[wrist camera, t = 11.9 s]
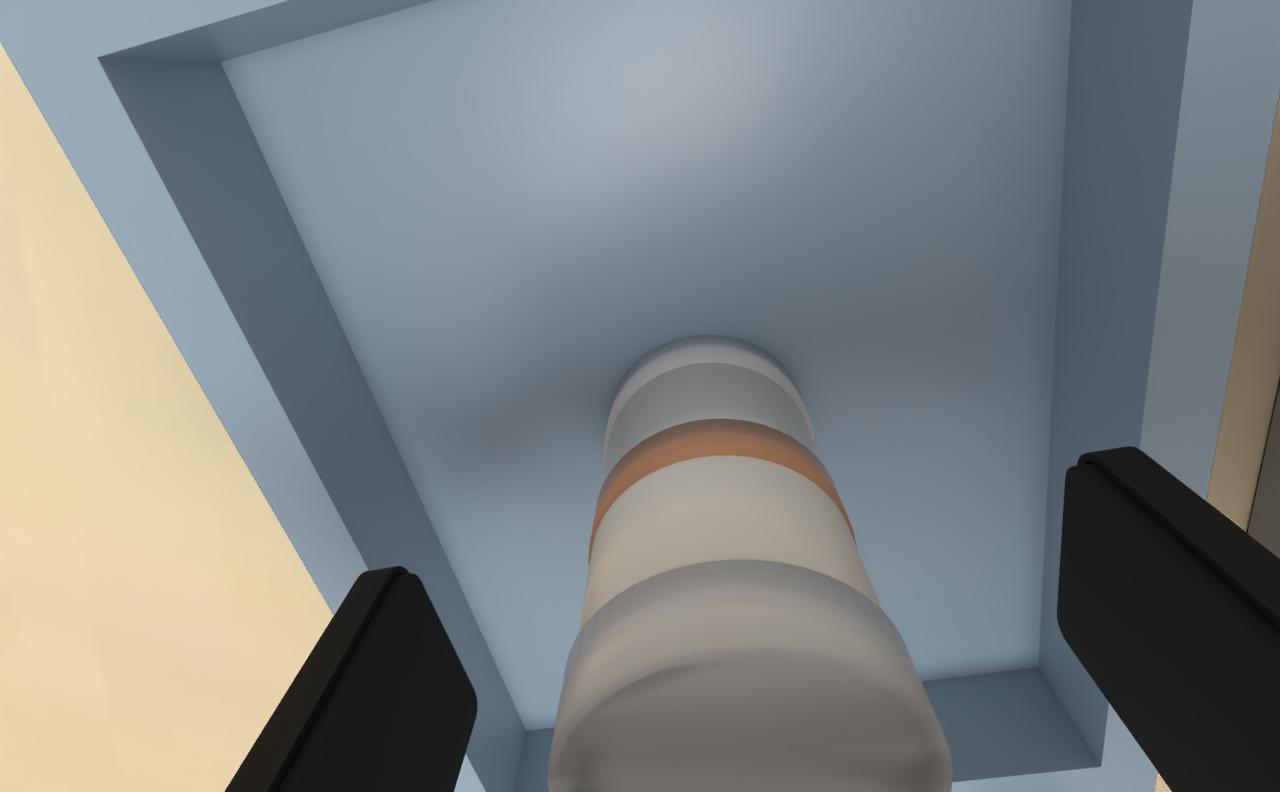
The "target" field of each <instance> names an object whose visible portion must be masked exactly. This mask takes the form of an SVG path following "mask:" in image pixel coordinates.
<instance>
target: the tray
mask: <svg viewBox="0 0 1280 792" xmlns="http://www.w3.org/2000/svg"><path fill="white" fill-rule="evenodd" d="M0 43H1V44H2V46H3V48H4V49H5V51H6V53H7V55H8V56H9V58H10V60H11V61H12V63H13V65H14V67H15V68H16V70H17V72H18V74H19V75H20V77H21V79H22V80H23V82H24V84H25V86H26V87H27V89H28V91H29V92H30V94H31V96H32V98H33V99H34V101H35V103H36V104H37V106H38V108H39V110H40V111H41V113H42V115H43V116H44V118H45V120H46V122H47V123H48V125H49V127H50V129H51V130H52V132H53V134H54V135H55V137H56V139H57V141H58V142H59V144H60V146H61V147H62V149H63V151H64V153H65V154H66V156H67V158H68V159H69V161H70V163H71V165H72V166H73V168H74V170H75V171H76V173H77V175H78V177H79V178H80V180H81V182H82V184H83V185H84V187H85V189H86V190H87V192H88V194H89V196H90V197H91V199H92V201H93V202H94V204H95V206H96V208H97V209H98V211H99V213H100V214H101V216H102V218H103V220H104V221H105V223H106V225H107V226H108V228H109V230H110V232H111V233H112V235H113V237H114V239H115V240H116V242H117V244H118V245H119V247H120V249H121V251H122V252H123V254H124V256H125V257H126V259H127V261H128V263H129V264H130V266H131V268H132V269H133V271H134V273H135V275H136V276H137V278H138V280H139V281H140V283H141V285H142V287H143V288H144V290H145V292H146V294H147V295H148V297H149V299H150V300H151V302H152V304H153V306H154V307H155V309H156V311H157V312H158V314H159V316H160V318H161V319H162V321H163V323H164V324H165V326H166V328H167V330H168V331H169V333H170V335H171V336H172V338H173V340H174V342H175V343H176V345H177V347H178V349H179V350H180V352H181V354H182V355H183V357H184V359H185V361H186V362H187V364H188V366H189V367H190V369H191V371H192V373H193V374H194V376H195V378H196V379H197V381H198V383H199V385H200V386H201V388H202V390H203V392H204V393H205V395H206V397H207V398H208V400H209V402H210V404H211V405H212V407H213V409H214V410H215V412H216V414H217V416H218V417H219V419H220V421H221V422H222V424H223V426H224V428H225V429H226V431H227V433H228V434H229V436H230V438H231V440H232V441H233V443H234V445H235V447H236V448H237V450H238V452H239V453H240V455H241V457H242V459H243V460H244V462H245V464H246V465H247V467H248V469H249V471H250V472H251V474H252V476H253V477H254V479H255V481H256V483H257V484H258V486H259V488H260V489H261V491H262V493H263V495H264V496H265V498H266V500H267V502H268V503H269V505H270V507H271V508H272V510H273V512H274V514H275V515H276V517H277V519H278V520H279V522H280V524H281V526H282V527H283V529H284V531H285V532H286V534H287V536H288V538H289V539H290V541H291V543H292V544H293V546H294V548H295V550H296V551H297V553H298V555H299V557H300V558H301V560H302V562H303V563H304V565H305V567H306V569H307V570H308V572H309V574H310V575H311V577H312V579H313V581H314V582H315V584H316V586H317V587H318V589H319V591H320V593H321V594H322V596H323V598H324V599H325V601H326V603H327V605H328V606H329V608H330V610H331V612H332V613H333V615H335V613H336V612H337V610H338V608H339V607H340V605H341V604H342V602H343V600H344V599H345V597H346V596H347V594H348V592H349V591H350V589H351V587H352V586H353V584H354V583H355V581H356V579H357V578H358V577H359V576H360V575H361V573H363V572H365V571H370V570H376V569H382V568H388V567H394V566H403V567H404V568H406V569H407V570H408V572H409V573H410V574H411V573H413V574H416V575H417V576H419V578H420V580H421V581H422V583H423V585H424V587H425V590H426V592H427V594H428V596H429V598H430V600H431V602H432V604H433V606H434V608H435V610H436V612H437V614H438V616H439V618H440V620H441V622H442V624H443V626H444V628H445V630H446V633H447V635H448V637H449V639H450V641H451V643H452V645H453V647H454V649H455V651H456V653H457V655H458V657H459V659H460V661H461V663H462V665H463V667H464V669H465V671H466V673H467V676H468V678H469V680H470V682H471V684H472V686H473V688H474V690H475V693H476V696H477V705H478V708H477V716H476V720H475V724H474V727H473V730H472V734H471V737H470V740H469V744H468V747H467V750H466V754H465V757H464V760H463V764H462V767H461V770H460V774H459V777H458V780H457V784H456V787H455V790H454V792H549V788H548V782H547V778H548V763H549V757H550V751H551V745H552V740H553V734H554V728H555V722H556V717H557V711H558V705H559V699H560V693H561V688H562V682H563V676H564V670H565V666H566V662H567V658H568V654H569V652H570V650H571V648H572V645H573V643H574V641H575V639H576V637H577V636H578V634H579V629H580V622H581V616H582V610H583V604H584V597H585V591H586V585H587V578H588V572H589V563H588V556H589V545H590V539H591V533H592V527H593V521H594V515H595V509H596V504H597V500H598V496H599V493H600V491H601V488H602V484H603V478H604V471H605V461H604V441H605V433H606V428H607V422H608V416H609V410H610V406H611V402H612V398H613V396H614V393H615V391H616V388H617V386H618V385H619V383H620V381H621V379H622V378H623V376H624V375H625V374H626V373H627V371H628V370H629V369H630V368H631V367H632V366H633V365H634V364H635V363H636V362H637V361H638V360H639V359H640V358H642V357H643V356H644V355H646V354H647V353H648V352H650V351H651V350H653V349H655V348H657V347H659V346H660V345H663V344H665V343H668V342H670V341H673V340H676V339H680V338H683V337H688V336H695V335H722V336H729V337H733V338H737V339H741V340H744V341H746V342H749V343H752V344H754V345H756V346H758V347H759V348H761V349H763V350H765V351H766V352H768V353H769V354H770V355H772V356H773V357H774V358H775V359H776V360H778V361H779V362H780V363H781V364H782V365H783V366H784V368H785V369H786V370H787V371H788V373H789V374H790V375H791V377H792V379H793V381H794V382H795V384H796V386H797V388H798V391H799V393H800V395H801V398H802V400H803V402H804V405H805V407H806V410H807V412H808V415H809V417H810V420H811V422H812V426H813V431H814V435H815V446H816V448H817V451H818V453H819V456H820V458H821V461H822V463H823V465H824V466H825V468H826V469H827V471H828V473H829V474H830V476H831V478H832V480H833V482H834V484H835V487H836V489H837V491H838V494H839V496H840V499H841V501H842V503H843V506H844V508H845V511H846V513H847V516H848V518H849V521H850V523H851V526H852V528H853V531H854V535H855V541H856V546H857V549H858V552H859V554H860V557H861V559H862V562H863V564H864V567H865V569H866V572H867V574H868V577H869V579H870V582H871V584H872V586H873V589H874V591H875V594H876V596H877V599H878V601H879V604H880V606H881V609H882V610H883V611H884V613H885V614H886V615H887V616H888V617H889V618H890V620H891V621H892V622H893V623H894V624H895V626H896V628H897V629H898V631H899V633H900V634H901V636H902V638H903V639H904V641H905V644H906V646H907V649H908V651H909V653H910V656H911V658H912V660H913V663H914V665H915V668H916V670H917V672H918V675H919V677H920V679H921V682H922V684H923V686H924V689H925V691H926V694H927V696H928V698H929V701H930V703H931V705H932V708H933V710H934V712H935V715H936V717H937V720H938V722H939V724H940V727H941V729H942V731H943V734H944V736H945V739H946V742H947V744H948V747H949V750H950V752H951V759H952V766H953V779H952V789H951V792H1154V790H1155V784H1156V778H1157V773H1158V771H1157V770H1156V768H1155V767H1154V765H1153V764H1152V763H1151V761H1150V760H1149V758H1148V757H1147V756H1146V754H1145V753H1144V751H1143V750H1142V749H1141V747H1140V746H1139V744H1138V743H1137V741H1136V740H1135V739H1134V737H1133V736H1132V734H1131V733H1130V732H1129V730H1128V729H1127V727H1126V726H1125V725H1124V723H1123V722H1122V720H1121V719H1120V717H1119V716H1118V715H1117V713H1116V712H1115V710H1114V709H1113V708H1112V706H1111V705H1110V703H1109V702H1108V701H1107V699H1106V698H1105V696H1104V695H1103V693H1102V692H1101V691H1100V689H1099V688H1098V686H1097V685H1096V684H1095V682H1094V681H1093V679H1092V678H1091V677H1090V675H1089V674H1088V672H1087V671H1086V669H1085V668H1084V667H1083V665H1082V664H1081V662H1080V661H1079V660H1078V658H1077V657H1076V655H1075V654H1074V653H1073V651H1072V650H1071V648H1070V647H1069V645H1068V644H1067V642H1066V641H1065V639H1064V638H1063V635H1062V633H1061V631H1060V628H1059V625H1058V621H1057V599H1058V583H1059V567H1060V551H1061V536H1062V520H1063V504H1064V488H1065V476H1066V471H1067V470H1068V468H1070V467H1072V466H1077V462H1078V459H1079V458H1080V456H1081V455H1083V454H1085V453H1089V452H1095V451H1101V450H1107V449H1113V448H1119V447H1126V446H1133V447H1136V448H1138V449H1140V450H1141V451H1143V452H1144V453H1145V454H1147V455H1148V456H1149V457H1150V458H1152V459H1153V460H1154V461H1156V462H1157V463H1158V464H1159V465H1161V466H1162V467H1163V468H1164V469H1166V470H1167V471H1168V472H1170V473H1171V474H1172V475H1173V476H1175V477H1176V478H1177V479H1179V480H1180V481H1181V482H1182V483H1184V484H1185V485H1186V486H1187V487H1189V488H1190V489H1191V490H1193V491H1194V492H1195V493H1196V494H1198V495H1199V496H1200V497H1201V498H1203V499H1204V500H1205V501H1206V499H1207V494H1208V488H1209V483H1210V477H1211V471H1212V466H1213V460H1214V455H1215V449H1216V443H1217V438H1218V432H1219V427H1220V421H1221V416H1222V410H1223V404H1224V399H1225V393H1226V388H1227V382H1228V377H1229V371H1230V365H1231V360H1232V354H1233V349H1234V343H1235V337H1236V332H1237V326H1238V321H1239V315H1240V310H1241V304H1242V298H1243V293H1244V287H1245V282H1246V276H1247V270H1248V265H1249V259H1250V254H1251V248H1252V243H1253V237H1254V231H1255V226H1256V220H1257V215H1258V209H1259V203H1260V198H1261V192H1262V187H1263V181H1264V176H1265V170H1266V164H1267V159H1268V153H1269V148H1270V142H1271V137H1272V131H1273V125H1274V120H1275V114H1276V109H1277V103H1278V97H1279V92H1280V0H0Z"/></svg>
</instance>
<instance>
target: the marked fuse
mask: <svg viewBox="0 0 1280 792" xmlns="http://www.w3.org/2000/svg"><path fill="white" fill-rule="evenodd" d="M604 461H605V471H604V478H603V484H602V488H601V491H600V493H599V496H598V500H597V504H596V509H595V515H594V521H593V527H592V533H591V539H590V545H589V556H588V563H589V572H588V578H587V585H586V591H585V597H584V604H583V610H582V616H581V622H580V629H579V634H578V636H577V637H576V639H575V641H574V643H573V645H572V648H571V650H570V652H569V654H568V658H567V662H566V666H565V670H564V676H563V682H562V688H561V693H560V699H559V705H558V711H557V717H556V722H555V728H554V734H553V740H552V745H551V751H550V757H549V763H548V778H547V782H548V788H549V792H951V789H952V779H953V766H952V759H951V752H950V750H949V747H948V744H947V742H946V739H945V736H944V734H943V731H942V729H941V727H940V724H939V722H938V720H937V717H936V715H935V712H934V710H933V708H932V705H931V703H930V701H929V698H928V696H927V694H926V691H925V689H924V686H923V684H922V682H921V679H920V677H919V675H918V672H917V670H916V668H915V665H914V663H913V660H912V658H911V656H910V653H909V651H908V649H907V646H906V644H905V641H904V639H903V638H902V636H901V634H900V633H899V631H898V629H897V628H896V626H895V624H894V623H893V622H892V621H891V620H890V618H889V617H888V616H887V615H886V614H885V613H884V611H883V610H882V609H881V606H880V604H879V601H878V599H877V596H876V594H875V591H874V589H873V586H872V584H871V582H870V579H869V577H868V574H867V572H866V569H865V567H864V564H863V562H862V559H861V557H860V554H859V552H858V549H857V546H856V541H855V535H854V531H853V528H852V526H851V523H850V521H849V518H848V516H847V513H846V511H845V508H844V506H843V503H842V501H841V499H840V496H839V494H838V491H837V489H836V487H835V484H834V482H833V480H832V478H831V476H830V474H829V473H828V471H827V469H826V468H825V466H824V465H823V463H822V461H821V458H820V456H819V453H818V451H817V448H816V446H815V435H814V431H813V426H812V422H811V420H810V417H809V415H808V412H807V410H806V407H805V405H804V402H803V400H802V398H801V395H800V393H799V391H798V388H797V386H796V384H795V382H794V381H793V379H792V377H791V375H790V374H789V373H788V371H787V370H786V369H785V368H784V366H783V365H782V364H781V363H780V362H779V361H778V360H776V359H775V358H774V357H773V356H772V355H770V354H769V353H768V352H766V351H765V350H763V349H761V348H759V347H758V346H756V345H754V344H752V343H749V342H746V341H744V340H741V339H737V338H733V337H729V336H722V335H695V336H688V337H683V338H680V339H676V340H673V341H670V342H668V343H665V344H663V345H660V346H659V347H657V348H655V349H653V350H651V351H650V352H648V353H647V354H646V355H644V356H643V357H642V358H640V359H639V360H638V361H637V362H636V363H635V364H634V365H633V366H632V367H631V368H630V369H629V370H628V371H627V373H626V374H625V375H624V376H623V378H622V379H621V381H620V383H619V385H618V386H617V388H616V391H615V393H614V396H613V398H612V402H611V406H610V410H609V416H608V422H607V428H606V433H605V441H604Z"/></svg>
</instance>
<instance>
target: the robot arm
mask: <svg viewBox="0 0 1280 792" xmlns="http://www.w3.org/2000/svg"><path fill="white" fill-rule="evenodd" d="M1057 621H1058V625H1059V628H1060V631H1061V633H1062V635H1063V638H1064V639H1065V641H1066V642H1067V644H1068V645H1069V647H1070V648H1071V650H1072V651H1073V653H1074V654H1075V655H1076V657H1077V658H1078V660H1079V661H1080V662H1081V664H1082V665H1083V667H1084V668H1085V669H1086V671H1087V672H1088V674H1089V675H1090V677H1091V678H1092V679H1093V681H1094V682H1095V684H1096V685H1097V686H1098V688H1099V689H1100V691H1101V692H1102V693H1103V695H1104V696H1105V698H1106V699H1107V701H1108V702H1109V703H1110V705H1111V706H1112V708H1113V709H1114V710H1115V712H1116V713H1117V715H1118V716H1119V717H1120V719H1121V720H1122V722H1123V723H1124V725H1125V726H1126V727H1127V729H1128V730H1129V732H1130V733H1131V734H1132V736H1133V737H1134V739H1135V740H1136V741H1137V743H1138V744H1139V746H1140V747H1141V749H1142V750H1143V751H1144V753H1145V754H1146V756H1147V757H1148V758H1149V760H1150V761H1151V763H1152V764H1153V765H1154V767H1155V768H1156V770H1157V771H1158V773H1159V774H1160V775H1161V777H1162V778H1163V780H1164V781H1165V782H1166V784H1167V785H1168V787H1169V788H1170V790H1171V791H1172V792H1280V559H1279V558H1278V557H1277V556H1276V555H1274V554H1273V553H1272V552H1270V551H1269V550H1268V549H1267V548H1265V547H1264V546H1263V545H1261V544H1260V543H1259V542H1258V541H1256V540H1255V539H1254V538H1253V537H1251V536H1250V535H1249V534H1247V533H1246V532H1245V531H1244V530H1242V529H1241V528H1240V527H1239V526H1237V525H1236V524H1235V523H1233V522H1232V521H1231V520H1230V519H1228V518H1227V517H1226V516H1224V515H1223V514H1222V513H1221V512H1219V511H1218V510H1217V509H1216V508H1214V507H1213V506H1212V505H1210V504H1209V503H1208V502H1207V501H1205V500H1204V499H1203V498H1201V497H1200V496H1199V495H1198V494H1196V493H1195V492H1194V491H1193V490H1191V489H1190V488H1189V487H1187V486H1186V485H1185V484H1184V483H1182V482H1181V481H1180V480H1179V479H1177V478H1176V477H1175V476H1173V475H1172V474H1171V473H1170V472H1168V471H1167V470H1166V469H1164V468H1163V467H1162V466H1161V465H1159V464H1158V463H1157V462H1156V461H1154V460H1153V459H1152V458H1150V457H1149V456H1148V455H1147V454H1145V453H1144V452H1143V451H1141V450H1140V449H1138V448H1136V447H1133V446H1126V447H1119V448H1113V449H1107V450H1101V451H1095V452H1089V453H1085V454H1083V455H1081V456H1080V458H1079V459H1078V462H1077V466H1072V467H1070V468H1068V470H1067V471H1066V476H1065V488H1064V504H1063V520H1062V536H1061V551H1060V567H1059V583H1058V599H1057ZM477 708H478V705H477V696H476V693H475V690H474V688H473V686H472V684H471V682H470V680H469V678H468V676H467V673H466V671H465V669H464V667H463V665H462V663H461V661H460V659H459V657H458V655H457V653H456V651H455V649H454V647H453V645H452V643H451V641H450V639H449V637H448V635H447V633H446V630H445V628H444V626H443V624H442V622H441V620H440V618H439V616H438V614H437V612H436V610H435V608H434V606H433V604H432V602H431V600H430V598H429V596H428V594H427V592H426V590H425V587H424V585H423V583H422V581H421V580H420V578H419V576H417V575H416V574H413V573H411V574H410V573H409V572H408V570H407V569H406V568H404V567H403V566H394V567H388V568H382V569H376V570H370V571H365V572H363V573H361V575H360V576H359V577H358V578H357V579H356V581H355V583H354V584H353V586H352V587H351V589H350V591H349V592H348V594H347V596H346V597H345V599H344V600H343V602H342V604H341V605H340V607H339V608H338V610H337V612H336V613H335V615H334V616H333V618H332V620H331V621H330V623H329V624H328V626H327V628H326V629H325V631H324V633H323V634H322V636H321V637H320V639H319V641H318V642H317V644H316V645H315V647H314V649H313V650H312V652H311V653H310V655H309V657H308V658H307V660H306V661H305V663H304V665H303V666H302V668H301V670H300V671H299V673H298V674H297V676H296V678H295V679H294V681H293V682H292V684H291V686H290V687H289V689H288V690H287V692H286V694H285V695H284V697H283V698H282V700H281V702H280V703H279V705H278V706H277V708H276V710H275V711H274V713H273V715H272V716H271V718H270V719H269V721H268V723H267V724H266V726H265V727H264V729H263V731H262V732H261V734H260V735H259V737H258V739H257V740H256V742H255V743H254V745H253V747H252V748H251V750H250V752H249V753H248V755H247V756H246V758H245V760H244V761H243V763H242V764H241V766H240V768H239V769H238V771H237V772H236V774H235V776H234V777H233V779H232V780H231V782H230V784H229V785H228V787H227V788H226V790H225V792H454V790H455V787H456V784H457V780H458V777H459V774H460V770H461V767H462V764H463V760H464V757H465V754H466V750H467V747H468V744H469V740H470V737H471V734H472V730H473V727H474V724H475V720H476V716H477Z"/></svg>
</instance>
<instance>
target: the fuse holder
mask: <svg viewBox="0 0 1280 792" xmlns="http://www.w3.org/2000/svg"><path fill="white" fill-rule="evenodd" d="M1247 534H1249V535H1250V536H1251V537H1253V538H1254V539H1255V540H1256V541H1258V542H1259V543H1260V544H1261V545H1263V546H1264V547H1265V548H1267V549H1268V550H1269V551H1270V552H1272V553H1273V554H1274V555H1276V556H1277V557H1278V558H1279V559H1280V386H1279V391H1278V395H1277V400H1276V404H1275V409H1274V413H1273V418H1272V423H1271V427H1270V432H1269V436H1268V441H1267V446H1266V450H1265V455H1264V459H1263V464H1262V468H1261V473H1260V478H1259V482H1258V487H1257V491H1256V496H1255V501H1254V505H1253V510H1252V514H1251V519H1250V523H1249V528H1248V533H1247Z"/></svg>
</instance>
